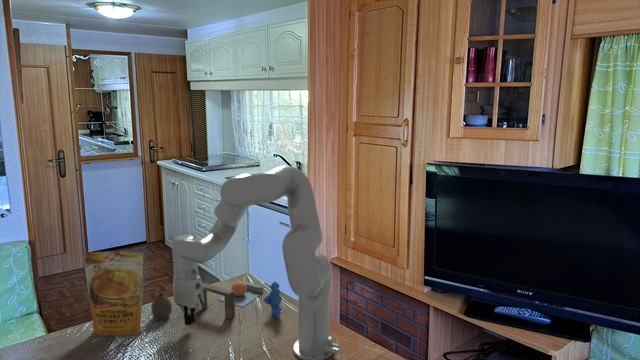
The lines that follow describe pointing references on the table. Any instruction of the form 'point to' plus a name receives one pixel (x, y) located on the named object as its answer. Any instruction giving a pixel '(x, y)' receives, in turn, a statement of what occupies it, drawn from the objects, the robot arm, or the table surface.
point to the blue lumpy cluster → (274, 299)
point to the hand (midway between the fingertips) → (189, 323)
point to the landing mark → (242, 299)
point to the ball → (239, 288)
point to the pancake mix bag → (115, 291)
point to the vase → (161, 307)
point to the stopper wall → (254, 287)
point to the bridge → (225, 292)
